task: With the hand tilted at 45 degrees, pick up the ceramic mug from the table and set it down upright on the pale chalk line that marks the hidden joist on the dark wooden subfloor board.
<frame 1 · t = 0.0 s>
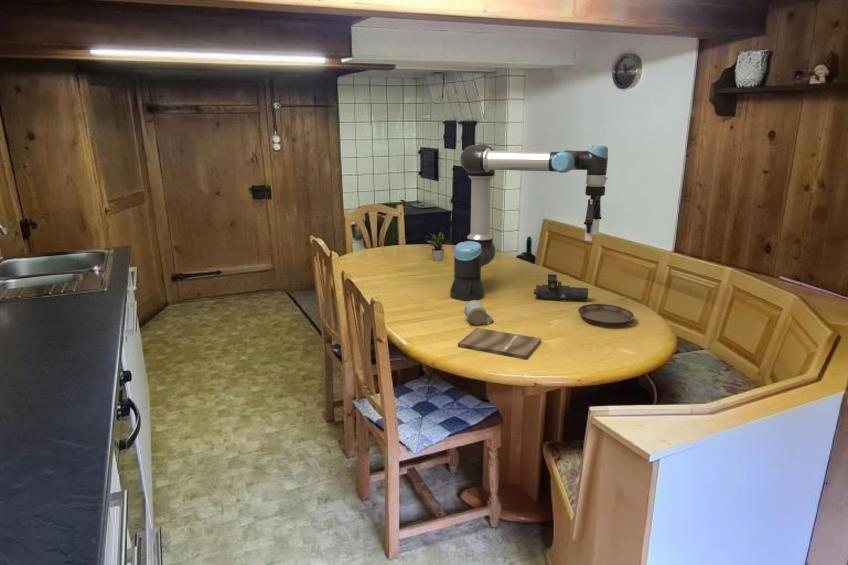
hand: (591, 237, 226), 28 cm above the table, tool pointing down, fingers open, 13 cm apart
subfloor board: (499, 344, 190), on the table
ceramic mug: (478, 322, 212), on the table
house plant: (437, 260, 311), on the table
plant saucer: (605, 320, 214), on the table
laser sight: (559, 300, 239), on the table
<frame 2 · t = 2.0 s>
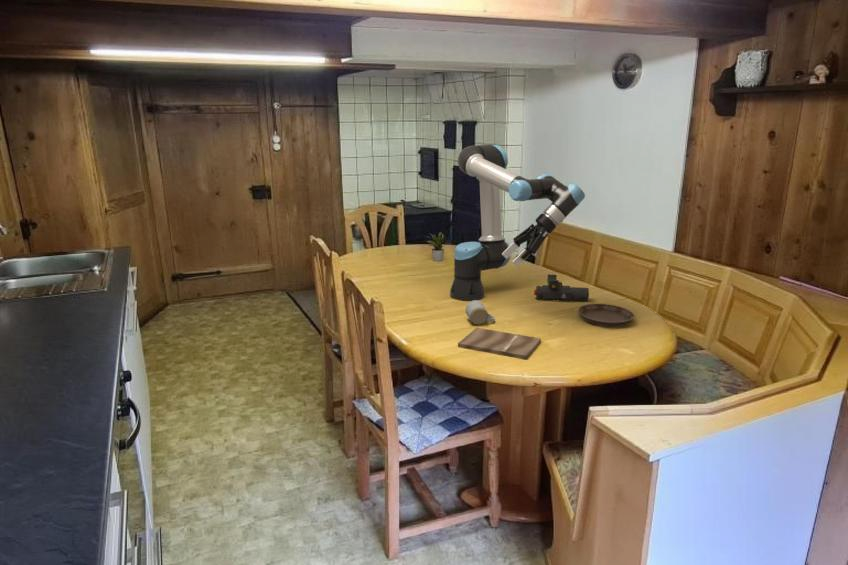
hand: (509, 260, 207), 24 cm above the table, tool tilted 45°, fingers open, 13 cm apart
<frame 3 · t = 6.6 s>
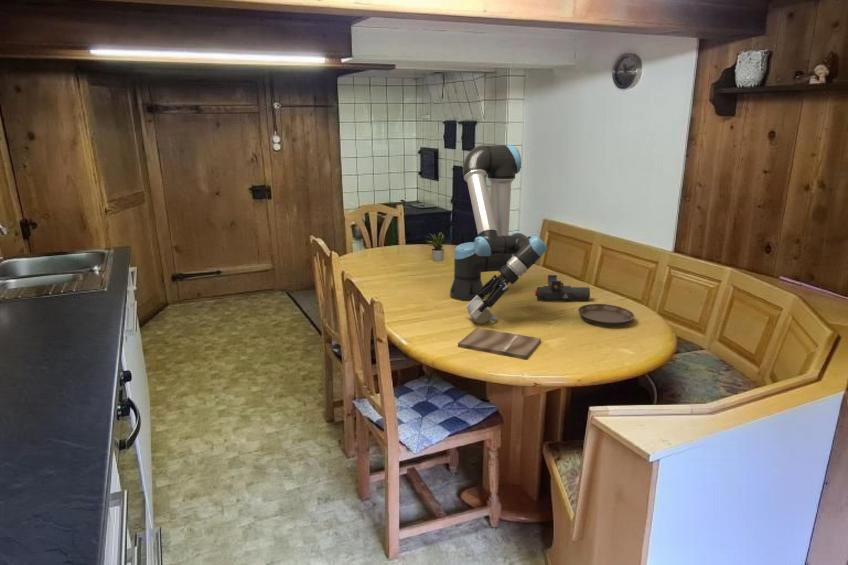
hand: (470, 312, 210), 4 cm above the table, tool tilted 45°, fingers closed on ceramic mug, 8 cm apart
ceramic mug: (482, 321, 212), on the table, touching gripper
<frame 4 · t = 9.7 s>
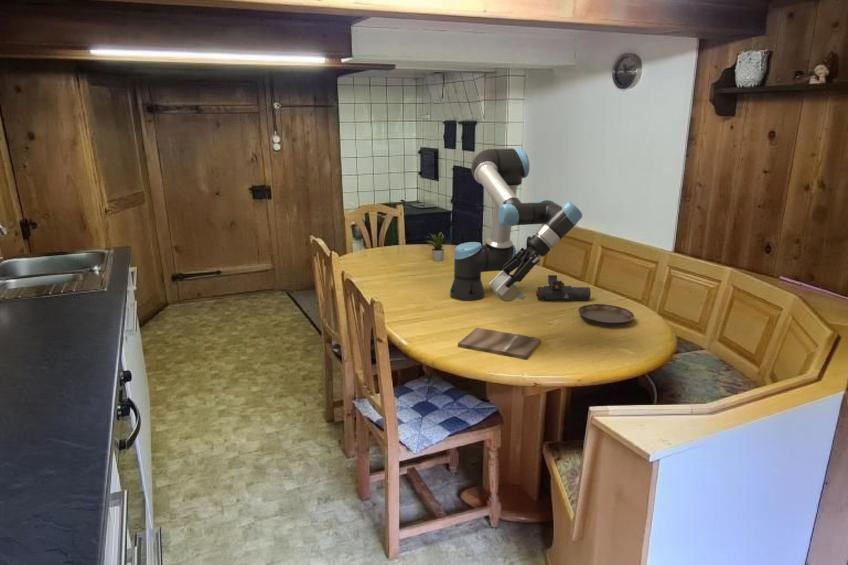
hand: (495, 289, 187), 19 cm above the table, tool tilted 45°, fingers closed on ceramic mug, 8 cm apart
ceramic mug: (509, 299, 189), point 15 cm above the table, touching gripper
when the fingers open (6 cm above the table, at t = 12.6 s): ceramic mug stays where it is, resting on subfloor board.
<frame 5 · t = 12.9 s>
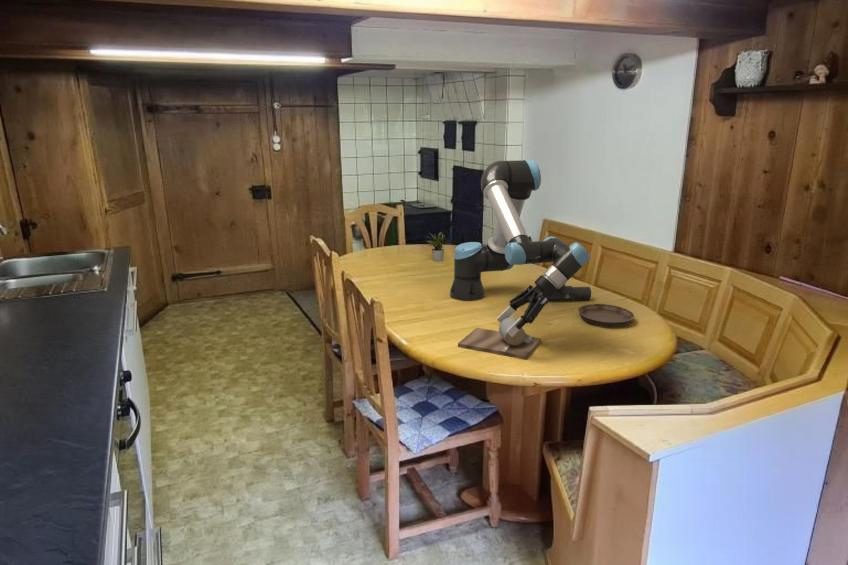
hand: (503, 327, 186), 7 cm above the table, tool tilted 45°, fingers open, 11 cm apart
ceramic mug: (515, 342, 188), point 1 cm above the table, touching subfloor board
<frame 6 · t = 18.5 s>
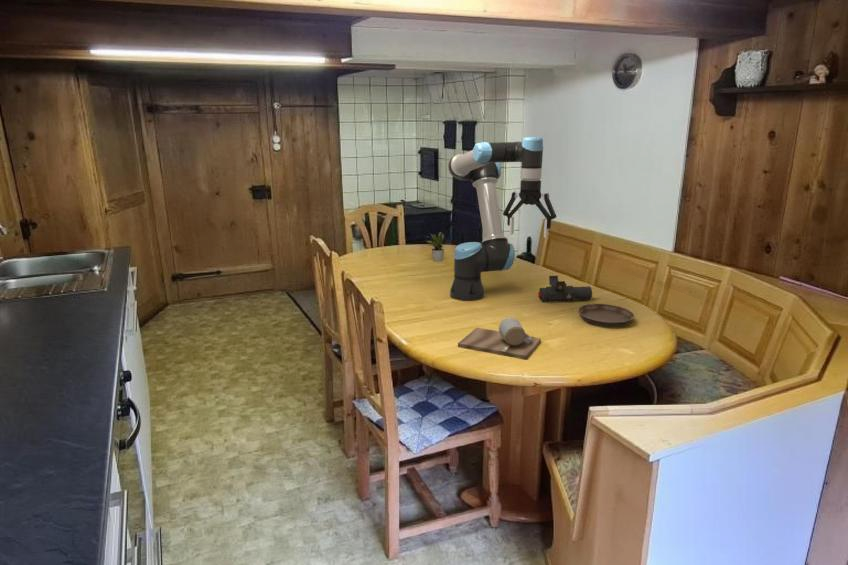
hand: (528, 235, 212), 32 cm above the table, tool pointing down, fingers open, 13 cm apart
at the end: ceramic mug 1.7 cm from the target spot, point 1.1 cm above the table; ceramic mug tilted 1°; the gripper is holding nothing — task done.
